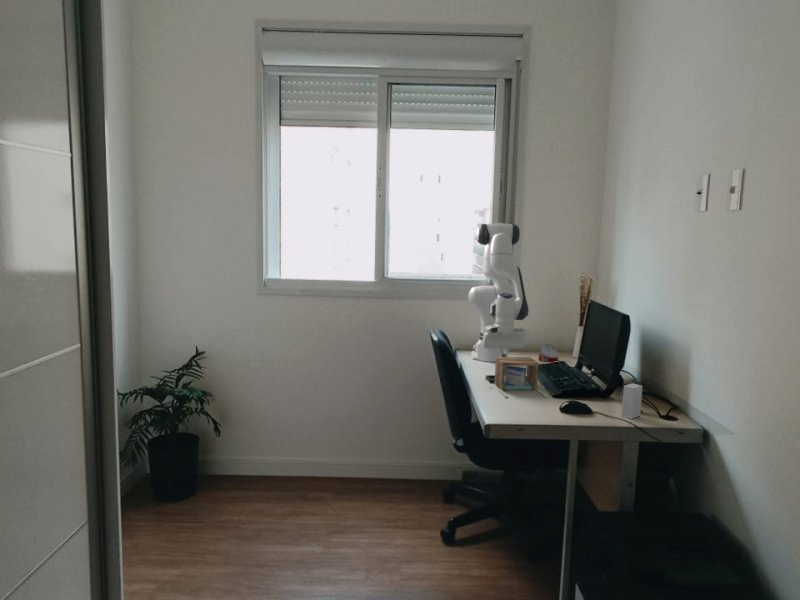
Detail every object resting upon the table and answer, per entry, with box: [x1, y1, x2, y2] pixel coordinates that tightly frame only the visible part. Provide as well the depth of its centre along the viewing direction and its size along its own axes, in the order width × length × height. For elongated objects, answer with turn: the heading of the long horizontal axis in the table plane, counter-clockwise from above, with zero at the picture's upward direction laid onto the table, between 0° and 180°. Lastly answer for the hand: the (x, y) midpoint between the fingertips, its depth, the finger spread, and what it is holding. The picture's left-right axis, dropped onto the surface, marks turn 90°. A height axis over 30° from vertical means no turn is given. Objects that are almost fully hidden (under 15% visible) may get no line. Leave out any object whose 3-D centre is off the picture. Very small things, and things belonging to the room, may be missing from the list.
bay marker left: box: [498, 388, 509, 399], centre depth 226 cm, size 10×1×1 cm, turn 6°
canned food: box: [538, 343, 560, 363], centre depth 287 cm, size 11×10×10 cm
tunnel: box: [493, 356, 539, 392], centre depth 236 cm, size 10×16×12 cm, turn 96°
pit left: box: [485, 374, 495, 384], centre depth 246 cm, size 7×5×2 cm
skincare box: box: [621, 383, 643, 419], centre depth 202 cm, size 6×4×12 cm
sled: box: [504, 366, 533, 391], centre depth 243 cm, size 22×12×6 cm, turn 6°
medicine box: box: [505, 366, 527, 386], centre depth 236 cm, size 8×4×9 cm, turn 62°
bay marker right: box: [537, 388, 549, 399], centre depth 228 cm, size 10×1×1 cm, turn 7°
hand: (503, 357), depth 254 cm, fingers closed
